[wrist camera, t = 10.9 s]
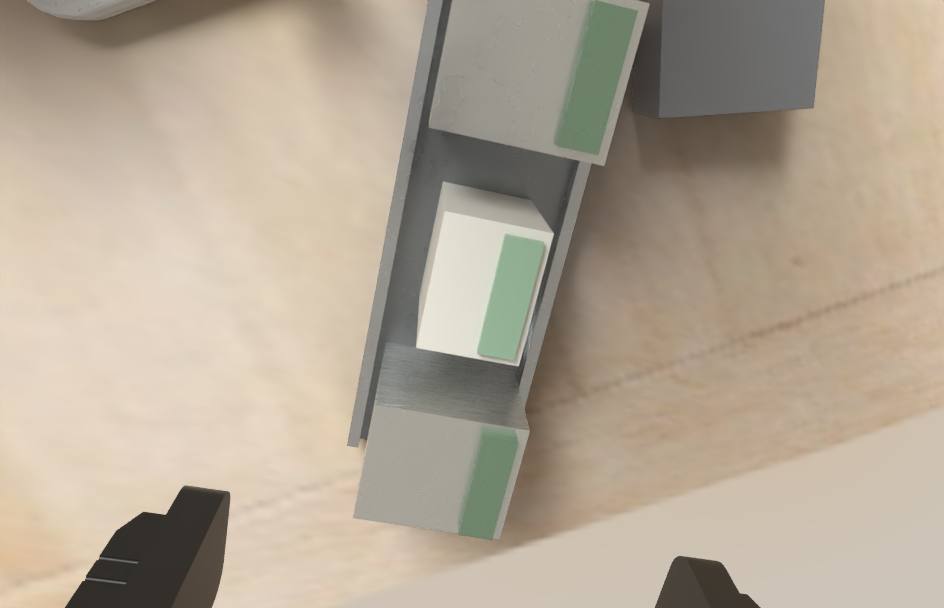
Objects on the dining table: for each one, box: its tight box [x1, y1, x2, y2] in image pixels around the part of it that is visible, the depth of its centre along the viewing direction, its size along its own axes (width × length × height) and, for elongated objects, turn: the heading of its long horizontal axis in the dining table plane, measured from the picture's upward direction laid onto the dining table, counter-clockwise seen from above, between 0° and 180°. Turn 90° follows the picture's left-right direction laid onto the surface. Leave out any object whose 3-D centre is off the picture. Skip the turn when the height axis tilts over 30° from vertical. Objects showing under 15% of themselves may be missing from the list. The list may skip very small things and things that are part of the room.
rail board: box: [347, 0, 650, 540], centre depth 32 cm, size 24×9×9 cm, turn 167°
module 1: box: [416, 182, 554, 366], centre depth 31 cm, size 6×4×7 cm
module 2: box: [632, 0, 825, 118], centre depth 32 cm, size 6×7×4 cm
